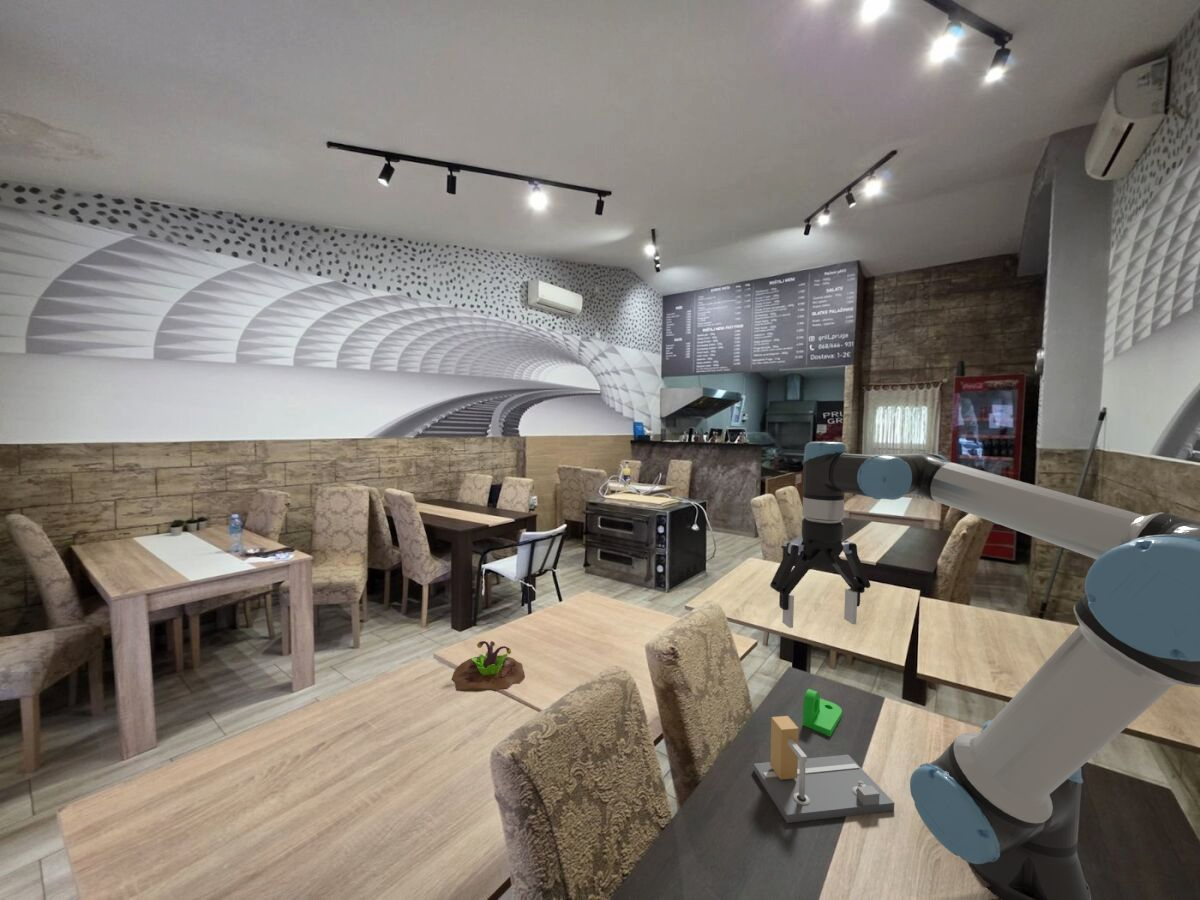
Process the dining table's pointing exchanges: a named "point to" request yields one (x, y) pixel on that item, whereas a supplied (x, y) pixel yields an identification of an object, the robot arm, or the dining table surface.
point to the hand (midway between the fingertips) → (819, 623)
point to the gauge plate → (824, 790)
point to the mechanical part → (820, 713)
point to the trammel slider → (787, 751)
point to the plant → (488, 671)
